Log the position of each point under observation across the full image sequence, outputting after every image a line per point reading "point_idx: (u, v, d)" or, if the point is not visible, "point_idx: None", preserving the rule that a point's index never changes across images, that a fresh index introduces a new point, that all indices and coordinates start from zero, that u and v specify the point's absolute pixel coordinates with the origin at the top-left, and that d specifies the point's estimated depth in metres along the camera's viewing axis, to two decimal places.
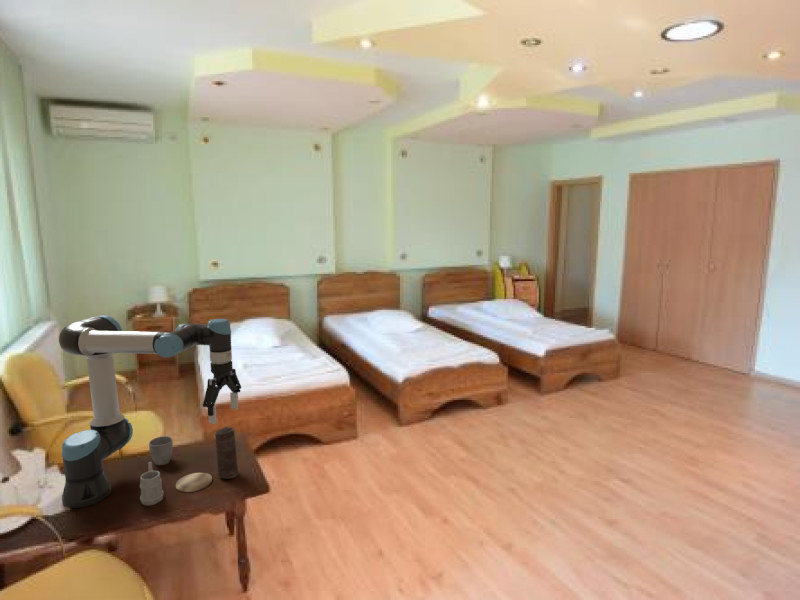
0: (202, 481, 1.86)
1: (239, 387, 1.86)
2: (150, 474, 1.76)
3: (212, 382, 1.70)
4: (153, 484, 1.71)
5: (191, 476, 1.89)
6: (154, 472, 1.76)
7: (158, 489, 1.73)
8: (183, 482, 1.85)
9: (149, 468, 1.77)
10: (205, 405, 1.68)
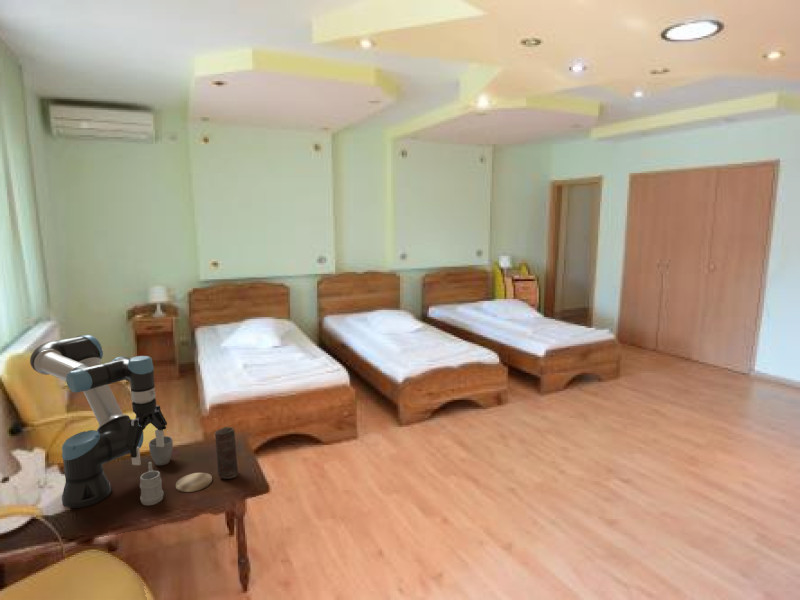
0: (202, 481, 1.86)
1: (165, 424, 1.81)
2: (150, 474, 1.76)
3: (134, 423, 1.64)
4: (153, 484, 1.71)
5: (191, 476, 1.89)
6: (154, 472, 1.76)
7: (158, 489, 1.73)
8: (183, 482, 1.85)
9: (149, 468, 1.77)
10: (127, 447, 1.63)
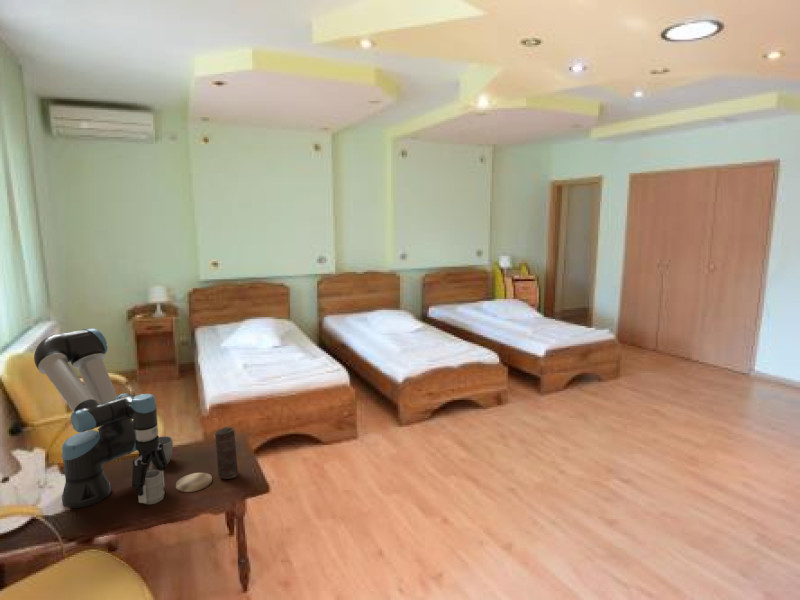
0: (202, 481, 1.86)
1: (165, 464, 1.82)
2: (151, 473, 1.76)
3: (138, 463, 1.67)
4: (154, 483, 1.72)
5: (191, 476, 1.89)
6: (155, 471, 1.76)
7: (159, 488, 1.74)
8: (183, 482, 1.85)
9: (149, 467, 1.78)
10: (134, 486, 1.67)
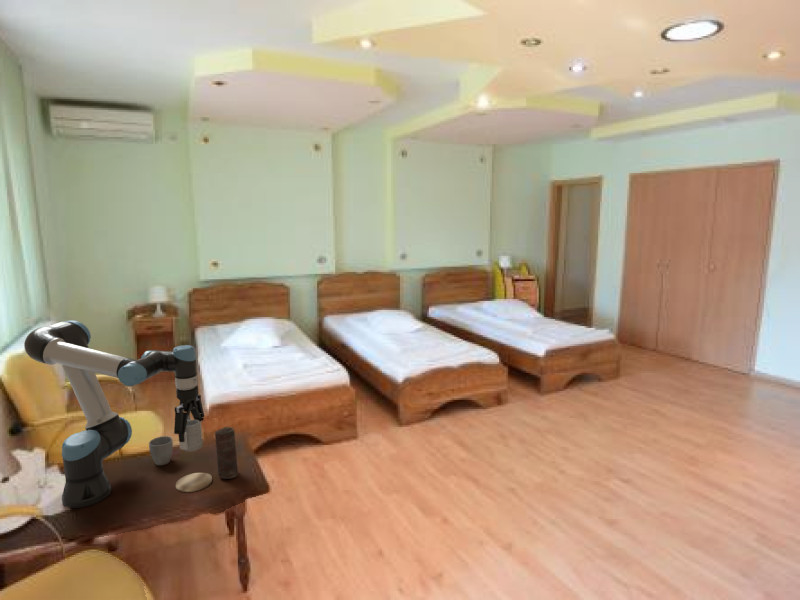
0: (202, 481, 1.86)
1: (202, 415, 1.89)
2: (189, 423, 1.83)
3: (179, 410, 1.74)
4: (195, 431, 1.79)
5: (191, 476, 1.89)
6: (193, 421, 1.84)
7: (199, 436, 1.81)
8: (183, 482, 1.85)
9: None
10: (176, 432, 1.74)
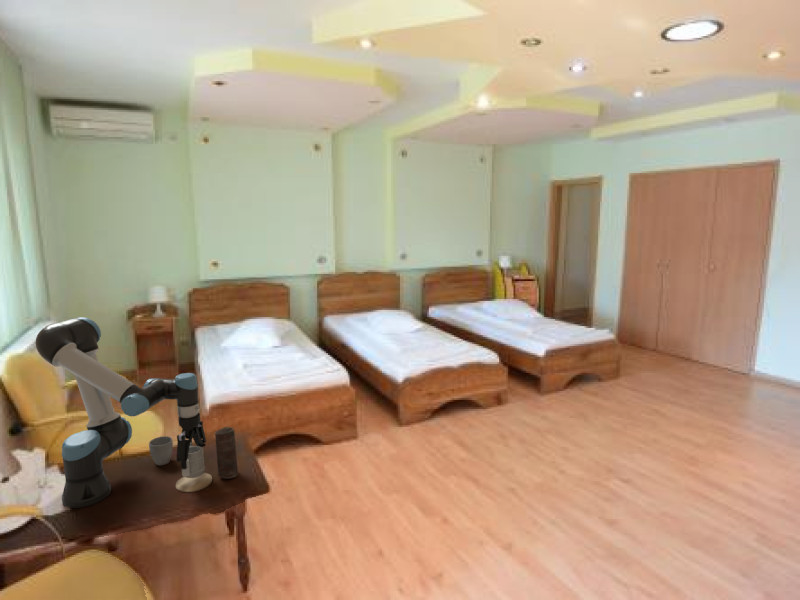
0: (202, 481, 1.86)
1: (204, 441, 1.90)
2: (191, 449, 1.85)
3: (182, 438, 1.76)
4: (197, 457, 1.81)
5: None
6: (195, 447, 1.86)
7: (201, 463, 1.83)
8: (183, 482, 1.85)
9: None
10: (179, 460, 1.76)
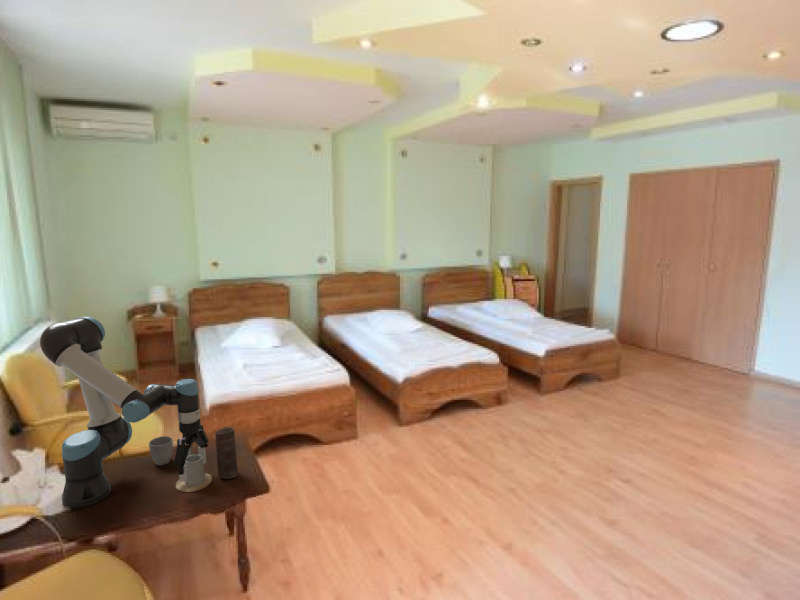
0: None
1: (206, 442, 1.92)
2: (192, 458, 1.86)
3: (182, 442, 1.76)
4: (198, 466, 1.82)
5: None
6: (195, 456, 1.86)
7: (202, 471, 1.84)
8: (183, 482, 1.85)
9: (189, 453, 1.87)
10: (176, 465, 1.74)
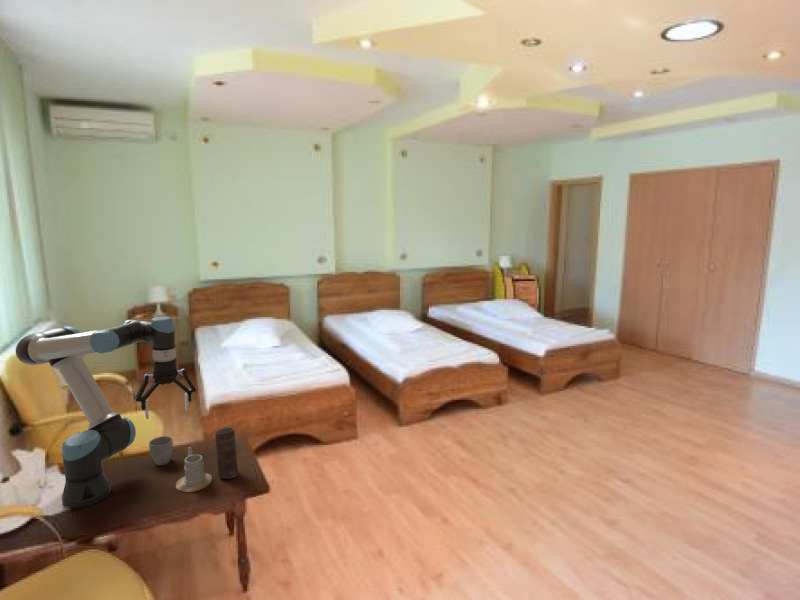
0: None
1: (192, 389, 1.81)
2: (192, 458, 1.86)
3: (144, 377, 1.71)
4: (198, 466, 1.82)
5: None
6: (196, 456, 1.86)
7: (202, 471, 1.84)
8: (183, 482, 1.85)
9: (189, 453, 1.87)
10: (135, 398, 1.71)
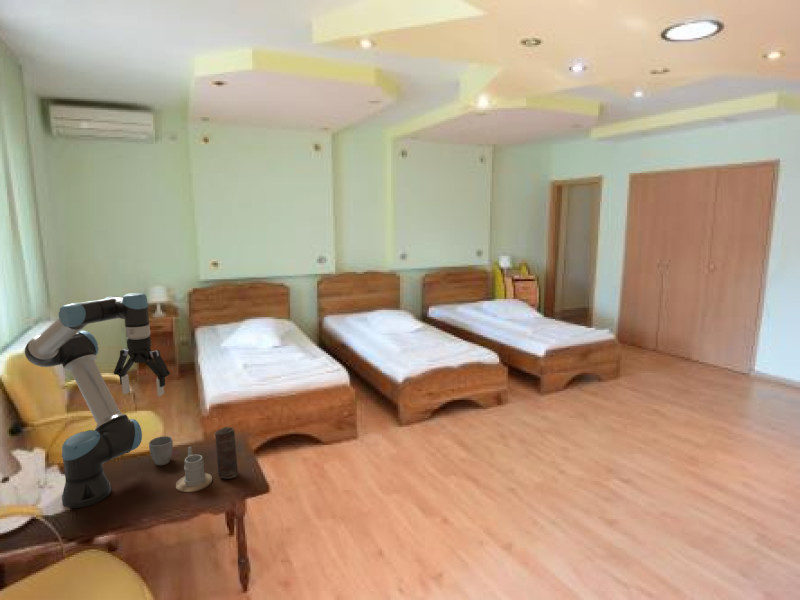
0: None
1: (162, 374, 1.69)
2: (192, 458, 1.86)
3: None
4: (198, 466, 1.82)
5: None
6: (196, 456, 1.86)
7: (202, 471, 1.84)
8: (183, 482, 1.85)
9: (189, 453, 1.87)
10: None
